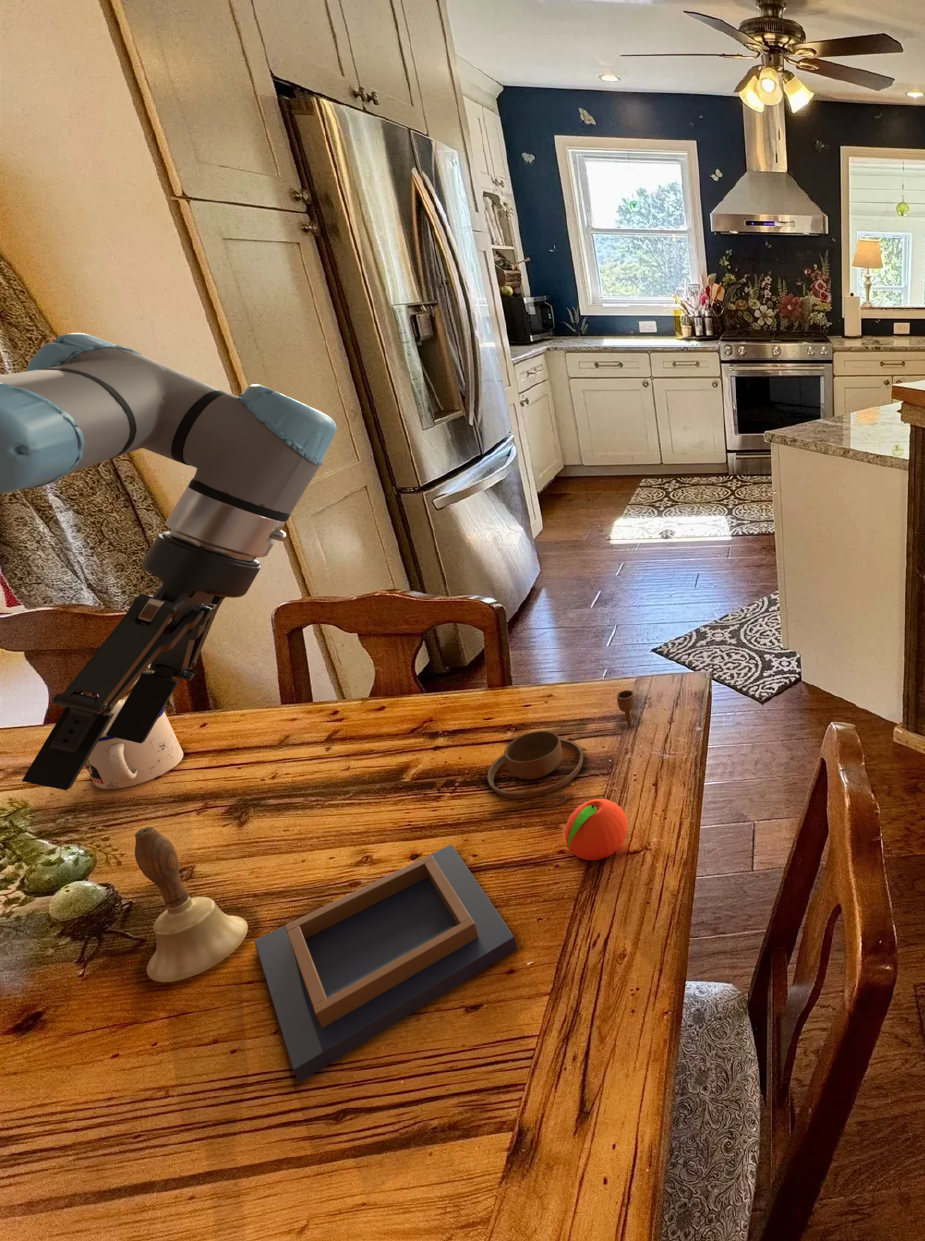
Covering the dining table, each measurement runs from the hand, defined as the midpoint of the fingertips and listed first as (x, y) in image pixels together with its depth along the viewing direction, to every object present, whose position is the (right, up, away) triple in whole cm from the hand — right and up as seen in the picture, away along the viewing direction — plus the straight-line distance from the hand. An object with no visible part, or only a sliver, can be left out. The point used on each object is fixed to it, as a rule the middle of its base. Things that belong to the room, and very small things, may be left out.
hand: (89, 759), depth 63 cm
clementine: (+36, -17, +22) cm, 46 cm away
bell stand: (+21, -22, +9) cm, 32 cm away
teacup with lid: (-29, -11, +32) cm, 45 cm away
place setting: (+27, -11, +37) cm, 46 cm away
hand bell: (+2, -22, +9) cm, 24 cm away
